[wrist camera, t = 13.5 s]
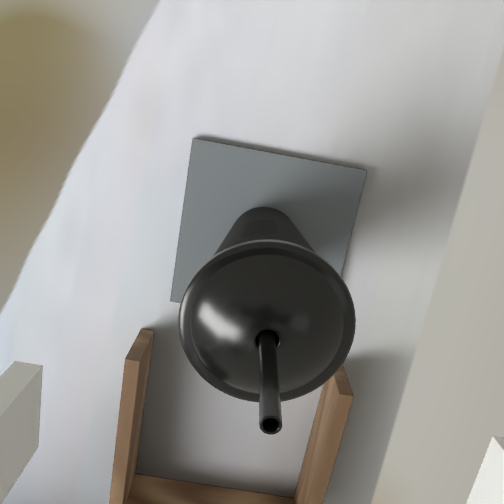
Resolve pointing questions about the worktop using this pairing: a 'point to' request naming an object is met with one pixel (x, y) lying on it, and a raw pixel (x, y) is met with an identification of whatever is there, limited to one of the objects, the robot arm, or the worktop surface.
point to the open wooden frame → (212, 497)
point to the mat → (262, 202)
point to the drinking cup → (266, 315)
